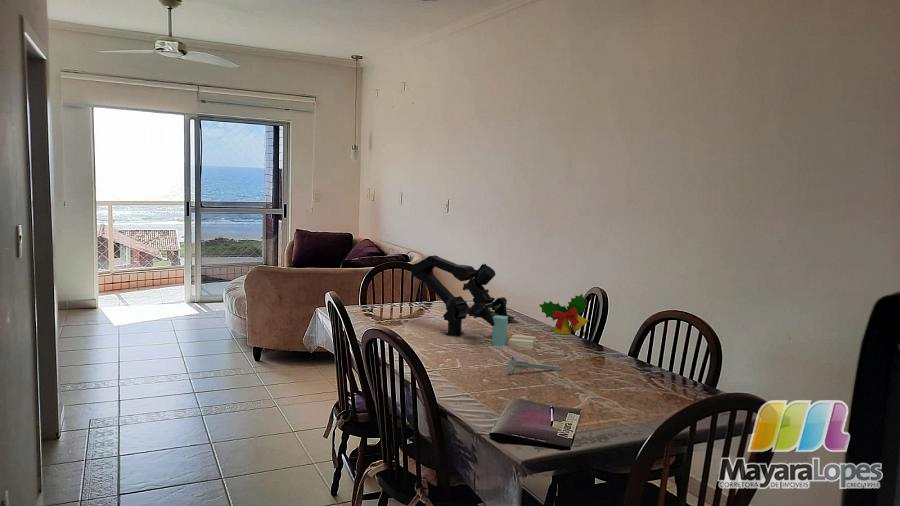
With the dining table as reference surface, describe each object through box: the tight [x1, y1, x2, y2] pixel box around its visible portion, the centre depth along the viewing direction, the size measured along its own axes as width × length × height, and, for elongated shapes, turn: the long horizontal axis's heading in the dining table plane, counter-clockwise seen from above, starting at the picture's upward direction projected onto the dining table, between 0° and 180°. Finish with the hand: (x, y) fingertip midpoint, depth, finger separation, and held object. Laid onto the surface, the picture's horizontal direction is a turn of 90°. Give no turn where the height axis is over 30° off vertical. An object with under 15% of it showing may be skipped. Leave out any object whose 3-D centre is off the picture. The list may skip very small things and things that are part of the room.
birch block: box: [508, 334, 537, 351], centre depth 247 cm, size 9×9×4 cm
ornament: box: [538, 293, 589, 335], centre depth 271 cm, size 22×9×16 cm, turn 62°
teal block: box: [491, 315, 508, 347], centre depth 248 cm, size 5×5×11 cm
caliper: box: [507, 355, 563, 375], centre depth 214 cm, size 21×1×6 cm, turn 111°
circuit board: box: [488, 308, 520, 324], centre depth 297 cm, size 25×14×3 cm, turn 25°
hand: (500, 323), depth 248 cm, fingers open, 9 cm apart
